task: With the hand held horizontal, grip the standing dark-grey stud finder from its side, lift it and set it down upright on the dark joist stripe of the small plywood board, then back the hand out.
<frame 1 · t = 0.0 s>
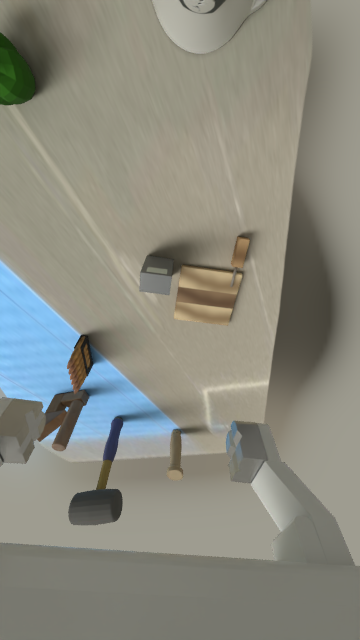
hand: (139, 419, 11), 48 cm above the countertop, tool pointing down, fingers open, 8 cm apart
bell pepper: (17, 80, 41), on the countertop
stud finder: (159, 265, 57), on the countertop
handle: (176, 431, 91), on the countertop
ammunition clip: (87, 350, 71), on the countertop
rubber mallet: (118, 418, 88), on the countertop
wooden block: (72, 395, 81), on the countertop
plywood board: (206, 295, 61), on the countertop
awl: (239, 251, 55), on the countertop, touching plywood board
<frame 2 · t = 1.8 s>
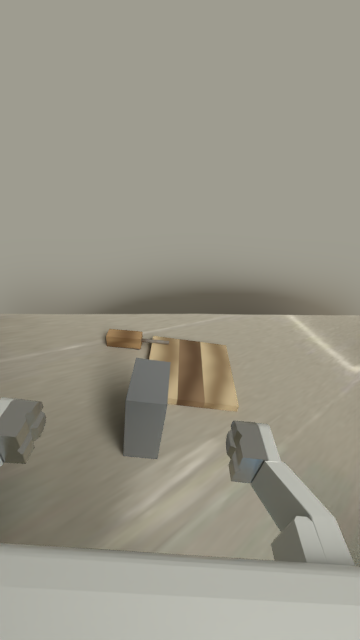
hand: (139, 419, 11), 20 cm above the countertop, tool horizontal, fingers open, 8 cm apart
stud finder: (143, 433, 32), on the countertop
plywood board: (189, 371, 42), on the countertop
awl: (125, 343, 46), on the countertop, touching plywood board
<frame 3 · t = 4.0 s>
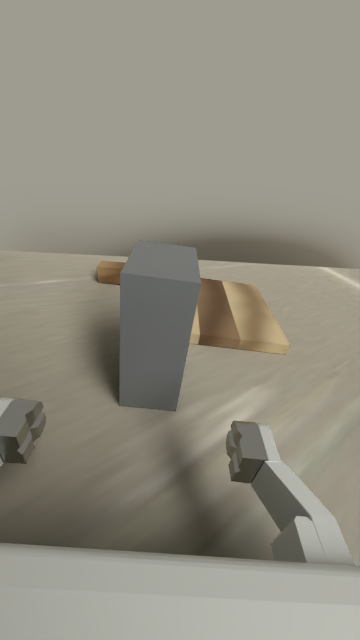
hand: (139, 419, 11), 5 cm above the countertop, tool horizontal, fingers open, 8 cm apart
stud finder: (152, 377, 20), on the countertop
plywood board: (211, 310, 31), on the countertop
awl: (122, 280, 34), on the countertop, touching plywood board
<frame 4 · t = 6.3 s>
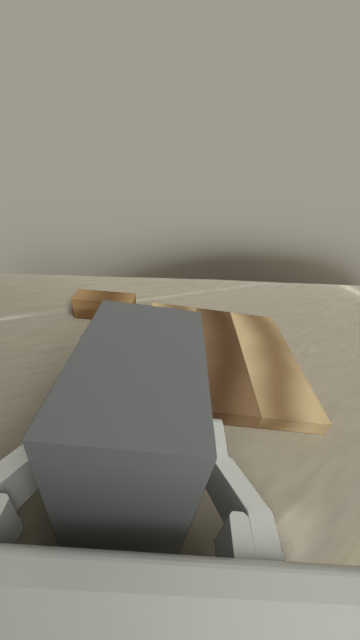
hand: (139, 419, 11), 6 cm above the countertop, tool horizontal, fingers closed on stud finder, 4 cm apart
stud finder: (131, 500, 13), on the countertop, touching gripper
plywood board: (218, 358, 23), on the countertop
awl: (106, 314, 27), on the countertop, touching plywood board
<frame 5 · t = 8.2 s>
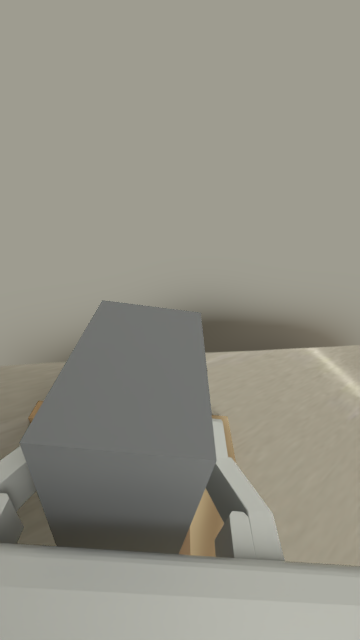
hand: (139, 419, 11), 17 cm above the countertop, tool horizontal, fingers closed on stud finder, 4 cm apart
stud finder: (130, 501, 13), point 11 cm above the countertop, touching gripper
plywood board: (166, 479, 25), on the countertop
when the fingers open (8 cm above the countertop, at t = 10.7 s): stud finder drops 1 cm, resting on plywood board.
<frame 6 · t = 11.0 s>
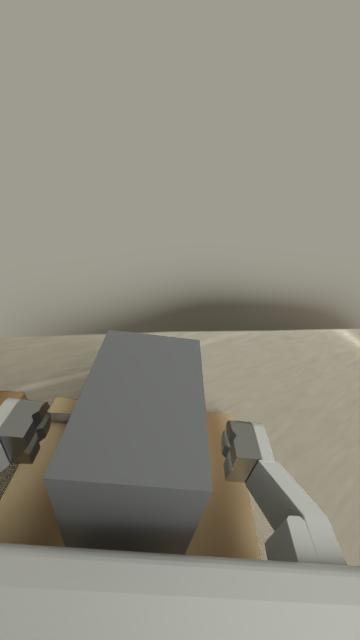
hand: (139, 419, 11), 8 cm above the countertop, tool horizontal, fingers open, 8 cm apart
stud finder: (134, 512, 14), point 1 cm above the countertop, touching plywood board
plywood board: (129, 520, 14), on the countertop
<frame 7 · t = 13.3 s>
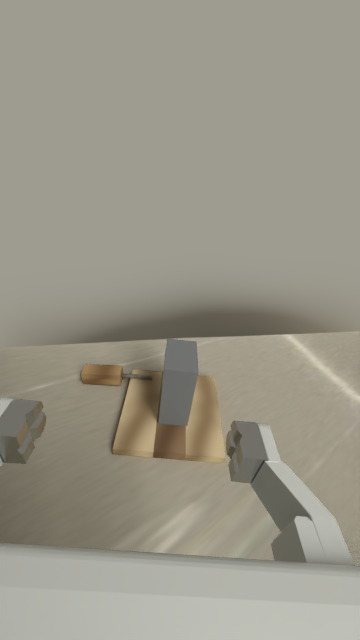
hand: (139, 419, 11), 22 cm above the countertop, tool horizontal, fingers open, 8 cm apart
stud finder: (173, 406, 37), point 1 cm above the countertop, touching plywood board
plywood board: (171, 411, 37), on the countertop
awl: (103, 379, 41), on the countertop, touching plywood board
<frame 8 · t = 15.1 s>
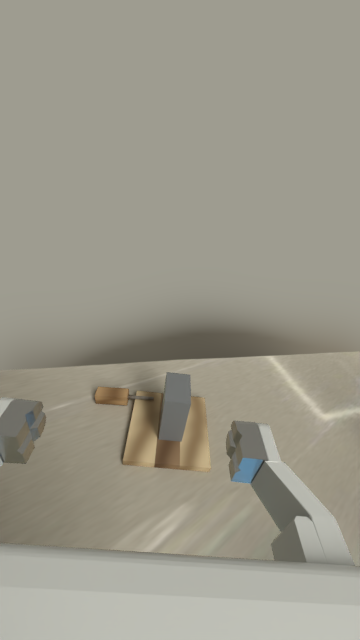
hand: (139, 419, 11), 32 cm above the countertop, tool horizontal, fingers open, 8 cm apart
stud finder: (170, 424, 45), point 1 cm above the countertop, touching plywood board
plywood board: (168, 428, 46), on the countertop
awl: (112, 399, 49), on the countertop, touching plywood board
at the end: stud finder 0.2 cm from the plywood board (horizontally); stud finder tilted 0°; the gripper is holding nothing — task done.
